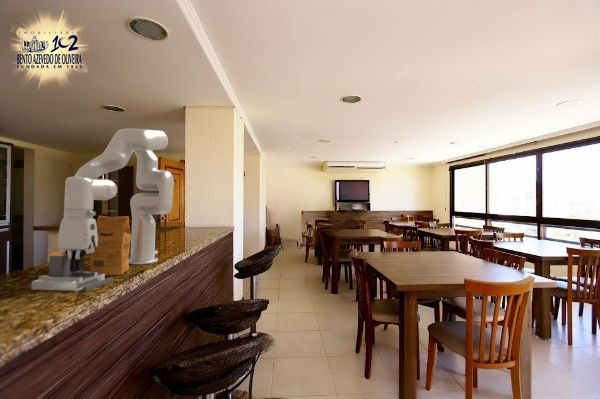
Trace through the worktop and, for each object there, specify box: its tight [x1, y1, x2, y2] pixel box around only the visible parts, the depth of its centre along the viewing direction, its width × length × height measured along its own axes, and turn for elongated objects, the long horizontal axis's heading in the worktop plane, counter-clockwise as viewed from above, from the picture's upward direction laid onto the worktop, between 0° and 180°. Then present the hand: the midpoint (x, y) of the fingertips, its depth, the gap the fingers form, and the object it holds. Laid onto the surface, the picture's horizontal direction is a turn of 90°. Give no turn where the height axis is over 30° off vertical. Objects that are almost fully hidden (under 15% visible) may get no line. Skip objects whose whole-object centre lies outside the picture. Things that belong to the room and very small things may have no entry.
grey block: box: [48, 251, 71, 276], centre depth 92 cm, size 4×4×8 cm
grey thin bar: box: [81, 276, 115, 292], centre depth 91 cm, size 12×1×1 cm, turn 179°
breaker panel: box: [30, 271, 106, 292], centre depth 91 cm, size 12×14×3 cm
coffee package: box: [89, 215, 131, 277], centre depth 107 cm, size 10×12×22 cm
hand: (76, 270), depth 91 cm, fingers closed
